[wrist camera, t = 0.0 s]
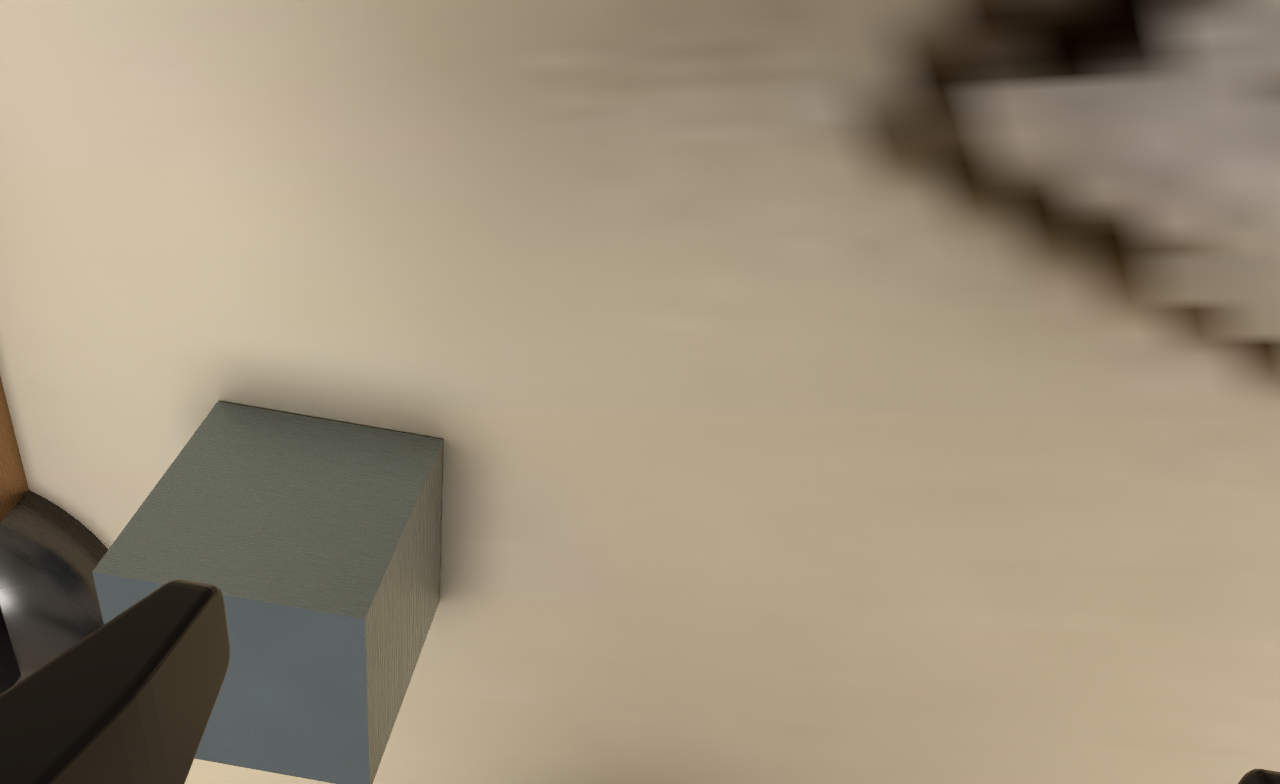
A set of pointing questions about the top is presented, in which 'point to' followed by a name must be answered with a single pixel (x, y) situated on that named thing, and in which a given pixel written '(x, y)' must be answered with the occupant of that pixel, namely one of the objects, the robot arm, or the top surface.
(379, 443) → the brushed slate-grey cube
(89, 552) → the brown bar with disc
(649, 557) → the top surface
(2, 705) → the robot arm
